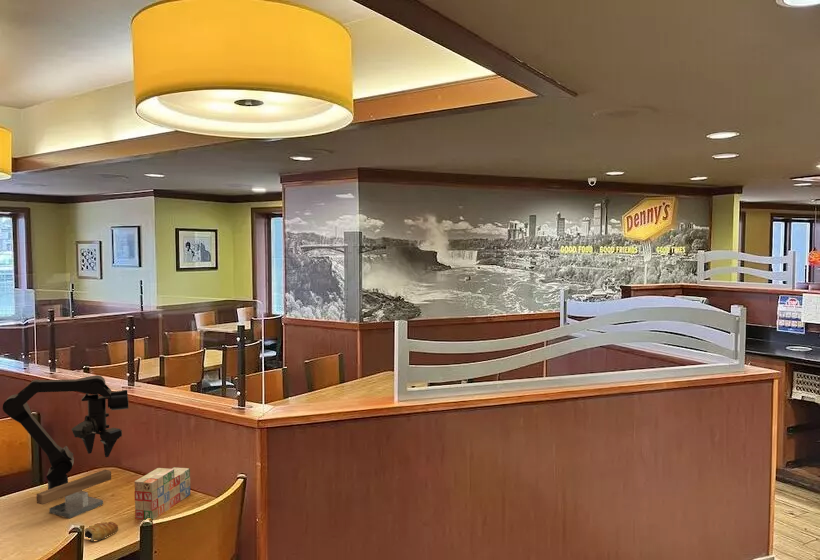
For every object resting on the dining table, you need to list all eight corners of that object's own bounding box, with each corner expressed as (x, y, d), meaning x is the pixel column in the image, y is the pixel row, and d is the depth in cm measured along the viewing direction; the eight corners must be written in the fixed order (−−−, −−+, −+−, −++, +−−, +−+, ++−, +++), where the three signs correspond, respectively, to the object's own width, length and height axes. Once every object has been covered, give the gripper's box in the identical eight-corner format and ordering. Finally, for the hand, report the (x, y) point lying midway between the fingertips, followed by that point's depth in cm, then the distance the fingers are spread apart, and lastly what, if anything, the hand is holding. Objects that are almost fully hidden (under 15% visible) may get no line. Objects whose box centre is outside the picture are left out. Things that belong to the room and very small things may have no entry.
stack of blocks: (174, 493, 216) (174, 458, 216) (191, 494, 215) (190, 459, 214) (134, 519, 196) (133, 480, 195) (152, 520, 194) (151, 482, 194)
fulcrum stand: (49, 512, 200) (48, 494, 200) (83, 499, 211) (83, 482, 211) (69, 518, 196) (68, 500, 195) (103, 504, 206) (102, 486, 206)
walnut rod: (36, 503, 193) (36, 493, 193) (105, 477, 214) (105, 469, 214) (42, 505, 192) (42, 495, 192) (111, 479, 213) (111, 470, 213)
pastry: (109, 526, 190) (109, 514, 190) (123, 531, 187) (123, 519, 187) (80, 539, 182) (80, 526, 182) (94, 544, 179) (94, 531, 179)
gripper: (58, 414, 216) (59, 458, 217) (93, 420, 208) (95, 466, 209) (87, 406, 226) (89, 449, 227) (122, 412, 218) (123, 456, 219)
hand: (98, 455), depth 220 cm, fingers open, 9 cm apart
